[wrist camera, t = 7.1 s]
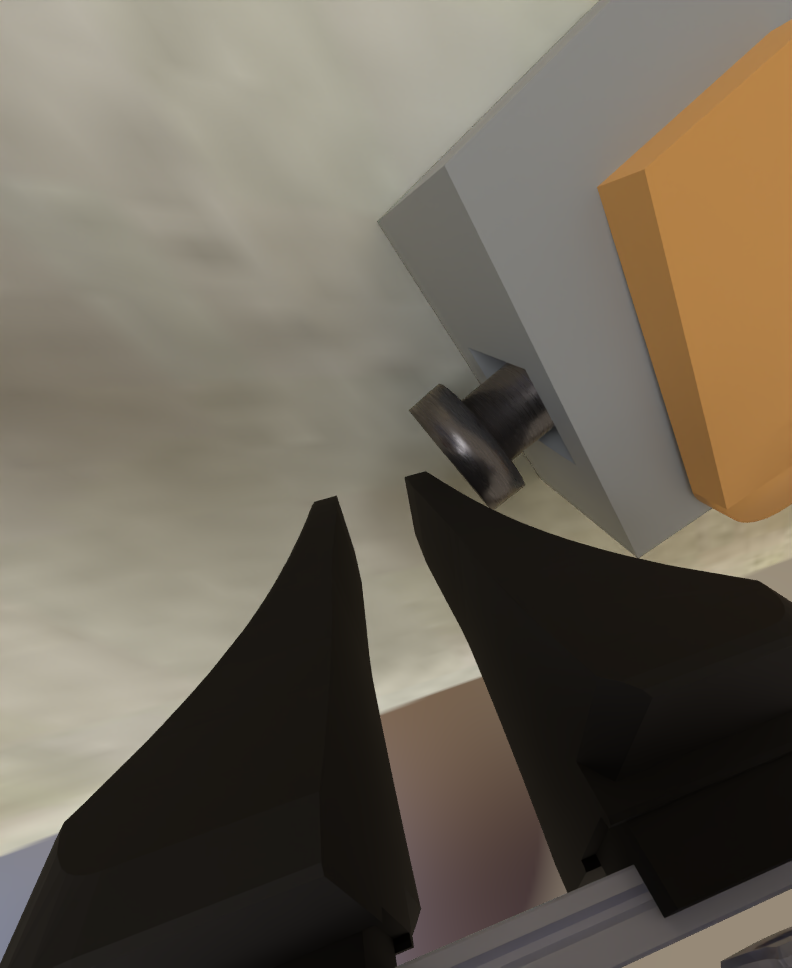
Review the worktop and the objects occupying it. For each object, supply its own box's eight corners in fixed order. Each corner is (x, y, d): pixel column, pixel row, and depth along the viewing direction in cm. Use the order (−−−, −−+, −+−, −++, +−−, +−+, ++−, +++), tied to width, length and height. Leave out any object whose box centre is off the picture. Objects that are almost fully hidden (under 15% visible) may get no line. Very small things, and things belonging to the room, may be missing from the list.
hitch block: (377, 221, 8) (444, 165, 4) (592, 7, 7) (927, -314, 3) (540, 478, 13) (637, 558, 9) (678, 373, 12) (849, 414, 8)
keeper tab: (596, 187, 5) (644, 169, 4) (771, 30, 4) (856, -18, 4) (701, 522, 9) (734, 541, 8) (797, 458, 8) (840, 472, 8)
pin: (458, 470, 11) (510, 533, 9) (396, 395, 10) (435, 442, 7) (767, 222, 10) (963, 196, 7) (760, 74, 8) (1020, -45, 5)
